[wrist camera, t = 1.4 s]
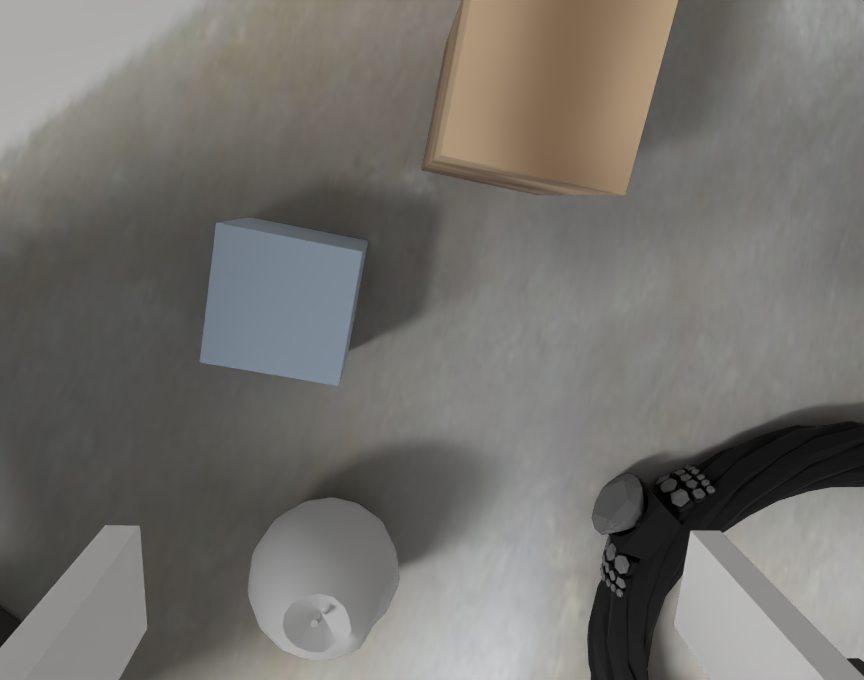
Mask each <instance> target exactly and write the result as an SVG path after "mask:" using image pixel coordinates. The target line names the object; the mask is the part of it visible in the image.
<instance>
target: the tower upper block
mask: <svg viewBox="0 0 864 680" xmlns="http://www.w3.org/2000/svg"><path fill="white" fill-rule="evenodd" d="M677 3H678V0H461V3H460V7H459V12H458V17H457V22H456V27H455V33H454V38H453V43H452V48H451V53H450V58H449V63H448V68H447V74H446V79H445V84H444V89H443V94H442V99H441V104H440V109H439V115H438V120H437V125H436V130H435V135H434V140H433V145H432V150H431V156H430V161H429V165H434V166H438V167H443V168H448V169H452V170H457V171H461V172H466V173H471V174H475V175H480V176H484V177H489V178H494V179H498V180H503V181H507V182H512V183H517V184H521V185H526V186H530V187H535V188H540V189H544V190H549V191H553V192H558V193H563V194H567V195H616V196H625V195H626V191H627V187H628V184H629V180H630V176H631V173H632V169H633V165H634V161H635V158H636V154H637V150H638V147H639V143H640V139H641V136H642V132H643V128H644V125H645V121H646V117H647V114H648V110H649V106H650V103H651V99H652V95H653V92H654V88H655V84H656V81H657V77H658V73H659V70H660V66H661V62H662V59H663V55H664V51H665V47H666V44H667V40H668V36H669V33H670V29H671V25H672V22H673V18H674V14H675V11H676V7H677Z"/></svg>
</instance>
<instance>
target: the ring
mask: <svg viewBox="0 0 864 680" xmlns="http://www.w3.org/2000/svg"><path fill="white" fill-rule="evenodd" d="M684 469H685V470H680V469H678V470H675V471H673V472H671V473H672V474H673V475H671V476H672V477H673V478H674V479H672V478H671V477H670V474H668V475H665V476H662V477H659V479H658V480H657V482H656V484H655V485H658V487H659V488H660V489H661V490H662V491H663V492H664V494H663V495H662V496H661V497H660V498H658V497H657V496H656V495H655V494H654V493H653V492H652V491H651V490H650V489H649V488H648V487H647V486H646V485H645V484H644V483H643V482H642V481H641V480H640V479H639V478H638V477H637V475H636V476H634V475H632V474H630V473H628V474H624V475H621V476H618V477H616V478H615V479H613V480H612V481H611V482H609V483H608V484H607V485H606V486H605V487H604V488H603V489H602V491H601V492H600V494H599V496H598V498H597V500H596V502H595V506H594V510H593V514H592V520H593V524H594V527H595V529H596V530H597V531H598V532H600V533H601V534H602V535H604V534H609V537H608V540H607V543H606V546H605V549H604V553H603V557H602V559H603V562H602V564H601V568H600V569H601V576H602V580H601V582H600V583H599V585H598V588H597V592H596V596H595V600H594V604H593V608H592V612H591V616H590V620H589V625H588V638H587V641H588V660H589V667H590V671H591V680H648V671H647V667H648V661H649V655H650V649H651V643H652V636H653V630H654V627H655V624H656V622H657V619H658V616H659V613H660V610H661V607H662V605H663V602H664V599H665V596H666V595H667V594H668V593H669V591H670V590H671V589H672V587H673V586H674V585H675V584H676V582H677V581H678V580H679V579H680V577H681V576H682V575H683V571H684V565H685V559H686V554H687V548H688V542H689V537H690V531H691V530H693V531H721V532H722V533H723V532H725V531H726V530H728V529H729V528H731V527H732V526H734V525H735V524H737V523H739V522H740V521H742V520H743V519H745V518H746V517H748V516H750V515H752V514H753V513H755V512H757V511H759V510H761V509H763V508H765V507H767V506H769V505H771V504H773V503H775V502H777V501H779V500H782V499H785V498H789V497H792V496H795V495H798V494H801V493H805V492H808V491H813V490H818V489H824V488H829V487H864V424H862V423H856V422H844V423H837V424H831V425H824V426H817V427H814V426H793V427H790V428H786V429H783V430H779V431H776V432H773V433H769V434H766V435H763V436H761V437H758V438H756V439H754V440H751V441H749V442H747V443H744V444H742V445H740V446H737V447H734V448H731V449H728V450H724V451H721V452H720V453H718V454H716V455H715V456H713V457H712V458H710V459H709V460H707V461H705V462H704V463H702V464H701V465H699V466H698V467H696V468H695V467H692V465H688V466H685V467H684ZM685 472H686V473H687V474H686V473H685ZM606 550H607V551H606Z"/></svg>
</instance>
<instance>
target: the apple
mask: <svg viewBox="0 0 864 680" xmlns="http://www.w3.org/2000/svg"><path fill="white" fill-rule="evenodd" d="M398 583H399V569H398V558H397V552H396V550H395V547H394V545H393V543H392V541H391V539H390V536H389V534H388V532H387V530H386V528H385V526H384V524H383V522H382V521H381V520H380V519H379V518H378V517H376V516H375V515H373V514H372V513H371V512H369V511H368V510H366V509H365V508H364V507H362V506H361V505H359V504H358V503H355V502H350V501H346V500H342V499H338V498H333V497H331V498H324V499H317V500H311V501H305V502H303V503H301V504H299V505H298V506H296V507H294V508H293V509H291V510H289V511H288V512H286V513H284V514H283V515H281V516H279V517H277V519H276V520H275V521H274V522H273V523H272V524H271V526H270V527H269V529H268V530H267V532H266V533H265V534H264V536H263V537H262V539H261V540H260V542H259V543H258V545H257V546H256V547H255V550H254V553H253V555H252V559H251V567H250V574H249V582H248V597H249V600H250V603H251V606H252V608H253V611H254V614H255V617H256V619H257V622H258V625H259V627H260V629H261V630H262V631H263V632H264V633H265V634H266V635H267V636H268V637H269V638H270V639H271V640H272V641H273V642H274V643H275V644H277V645H278V646H279V647H280V648H281V649H282V650H283V651H286V652H288V653H291V654H293V655H296V656H298V657H301V658H304V659H323V660H331V659H333V658H336V657H339V656H342V655H345V654H348V653H351V652H354V651H355V650H357V649H359V648H360V647H361V645H362V644H363V642H364V641H365V639H366V637H367V635H368V633H369V632H370V630H371V628H372V626H373V625H374V624H375V623H376V622H377V621H378V620H379V619H380V618H381V617H382V616H383V615H384V613H385V612H386V611H387V609H388V607H389V604H390V602H391V600H392V598H393V596H394V594H395V591H396V589H397V587H398Z"/></svg>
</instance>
